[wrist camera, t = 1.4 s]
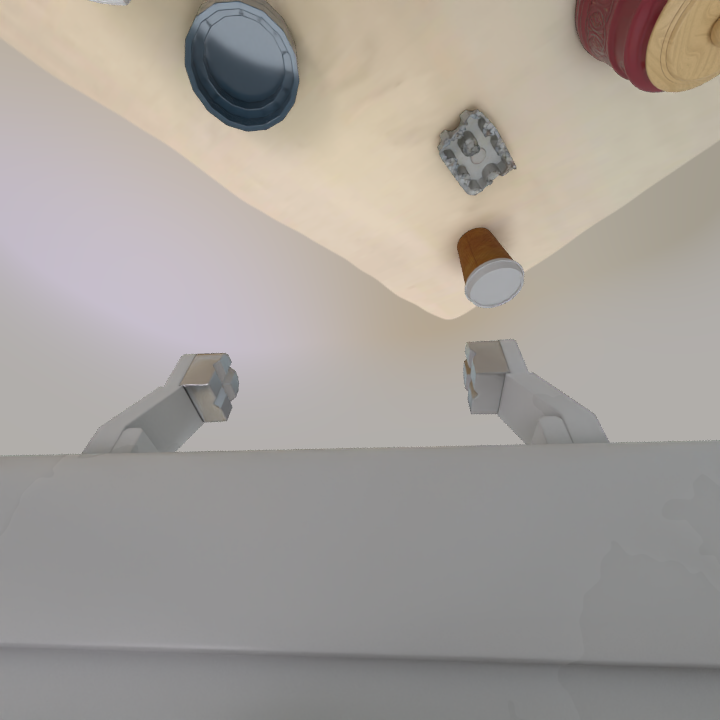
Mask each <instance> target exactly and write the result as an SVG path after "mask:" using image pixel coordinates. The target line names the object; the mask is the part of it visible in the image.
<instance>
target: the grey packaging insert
mask: <svg viewBox="0 0 720 720" xmlns="http://www.w3.org/2000/svg"><path fill="white" fill-rule="evenodd" d="M460 118H461V121H460V124H459V126H458V128H457V129H455V130H454V131H447V130H445V131H443V132H442V133H441V134H440V138H441V142H440V144H439V146H438V150H439V155H440V157H441V159H442V160H443V162H444V163H445V165H446V166H447V167H448V169H449V170H450V171H451V173H452V175H453V176H454V177H455V178H456V180H457V181H458V183H459V184H460V186H461V187H462V188H463V189H464V191H465V192H466V193H467V194H469V195H476V194H478V193H479V192H481V191H483V189H484V188H485V187H486V186H488V185H491V184H492V182H493V181H492V180H493V179H495V178H496V177H497V176H498V175H501V176H504V175H505V174H507V173H508V172H509V171H510V170H512V169H516V165H515V163H514V161H513V159H512V157H511V156H510V154H509V152H508V150H507V148H506V146H505V144H504V142H503V140H502V139H501V137H500V135H499V133H498V131H497V129H496V128H495V126H494V125H493V124H492V123H491V122H490V121H489V120H488V119H487V118H486V117H485V116H484V114H483V113H482V112H480V111H479V110H475V111H468V110H465V111H464V112H463V113H462V114H461V115H460Z"/></svg>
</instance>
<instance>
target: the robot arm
mask: <svg viewBox="0 0 720 720" xmlns="http://www.w3.org/2000/svg"><path fill="white" fill-rule="evenodd" d="M465 353H466V358H467V359H466V360H465V361H464V368H463V371H464V372H463V373H464V384H465V389H466V390H467V391H468V403H469V407H470V412H471V414H498V416H499V417H500V418H501V419H502V420H503V421H504V422H505V423H506V424H507V425H508V426H509V427H510V428H511V429H512V430H513V431H514V433H515V434H516V435H518V437H519V438H521V440H523V442H524V443H525V444H526V445H480V446H440V447H439V446H438V447H387V448H339V449H293V450H248V451H204V452H203V451H201V452H175V451H176V450H177V449H178V448H180V447H181V446H182V445H183V443H185V442H186V441H187V440H188V439H189V438H190V437H191V436H192V435H193V434H194V433H195V432H196V431H197V430H198V428H200V427H201V426H202V425H203V422H218V421H219V422H221V421H227V419H228V417H229V414H230V411H231V409H232V405H231V402H230V401H232V400H233V399H234V398H235V397H236V396H237V393H238V387H239V381H238V376H237V374H236V371H235V370H233V369H232V368H231V367H230V364H231V359H230V357H229V355H228V354H226V353H213V354H212V353H211V354H185V355H183V356H181V358H180V360H179V361H178V363H177V365H176V367H175V368H174V370H173V372H172V373H171V375H170V377H169V378H168V380H167V382H166V383H165V385H164V387H159V388H157V389H156V390H154V391H153V392H151V393H150V394H148V395H147V396H146V397H144V398H142V399H141V400H139V401H138V402H136V403H135V404H133V405H132V406H130V407H129V408H128V409H126V410H125V411H123V412H121V413H120V414H119V415H117V416H116V417H114V418H113V419H111V420H110V421H108V422H107V423H105V424H104V425H102V426H101V427H99V429H98V430H97V431H96V433H95V434H94V436H93V437H92V439H91V440H90V442H89V443H88V445H87V446H86V448H85V449H84V451H83V452H82V454H61V455H60V454H59V455H13V456H12V455H10V456H0V720H720V440H712V441H668V442H621V443H610V442H609V440H608V438H607V437H606V435H605V433H604V431H603V429H602V427H601V425H600V423H599V421H598V419H597V417H596V415H595V414H594V413H593V412H591V411H590V410H588V409H587V408H585V407H584V406H582V405H581V404H579V403H578V402H576V401H575V400H573V399H572V398H570V397H569V396H567V395H566V394H565V393H563V392H561V391H560V390H559V389H557V388H556V387H554V386H552V385H551V384H550V383H548V382H547V381H545V380H544V379H542V378H541V377H539V376H538V375H536V374H535V373H529V372H528V370H527V367H526V365H525V362H524V360H523V357H522V355H521V352H520V350H519V347H518V345H517V342H516V340H514V339H506V340H498V341H477V342H467V343H466V348H465Z"/></svg>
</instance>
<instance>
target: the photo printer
mask: <svg viewBox="0 0 720 720" xmlns="http://www.w3.org/2000/svg"><path fill="white" fill-rule="evenodd" d="M89 1H93V2H97V3H102V4H103V3H105V4H111V5H128V4H129V2H130V1H131V0H89Z"/></svg>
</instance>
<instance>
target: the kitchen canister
mask: <svg viewBox="0 0 720 720" xmlns="http://www.w3.org/2000/svg"><path fill="white" fill-rule="evenodd" d="M575 25H576V31H577V34H578V37H579V39H580V41H581V43H582V45H583V47H584V49H585V50H586V51H587V52H588V53H589V54H590V55H591V56H593V57H594V58H596V59H597V60H600V61H603V62H605V63H606V64H608V65H609V66H611V67H612V68H613V69H614V71H615V72H616V73H617V74H618V75H620V76H621V77H623V78H625V79H627V80H630V82H631V83H632V84H633V85H634V86H635V87H637V88H638V89H640V90H642V91H646V92H665V91H666V92H681V91H686V90H689V89H692V88H695V87H697V86H700V85H702V84H704V83H706V82H708V81H709V80H711V79H713V78H714V77H716V76H717V75H719V74H720V0H577V4H576V11H575Z"/></svg>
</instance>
